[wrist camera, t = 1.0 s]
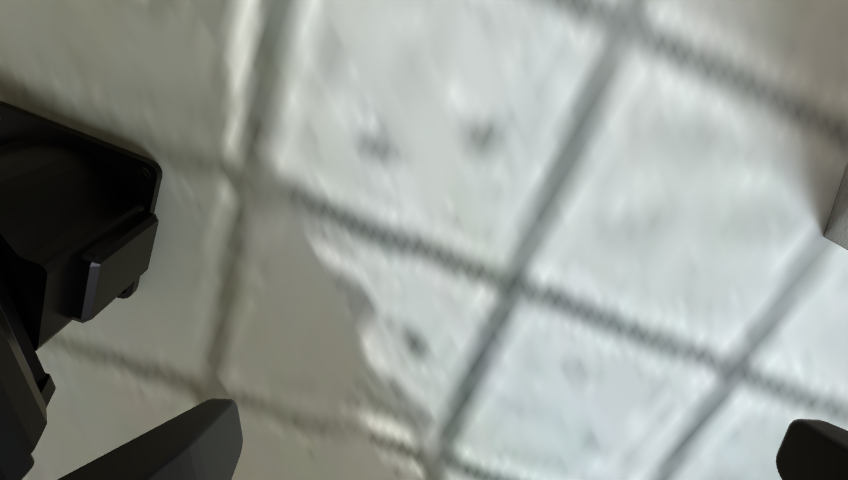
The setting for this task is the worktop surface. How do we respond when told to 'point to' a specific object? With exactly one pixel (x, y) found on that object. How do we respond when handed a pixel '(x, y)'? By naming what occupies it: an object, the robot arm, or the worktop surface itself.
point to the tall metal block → (839, 216)
